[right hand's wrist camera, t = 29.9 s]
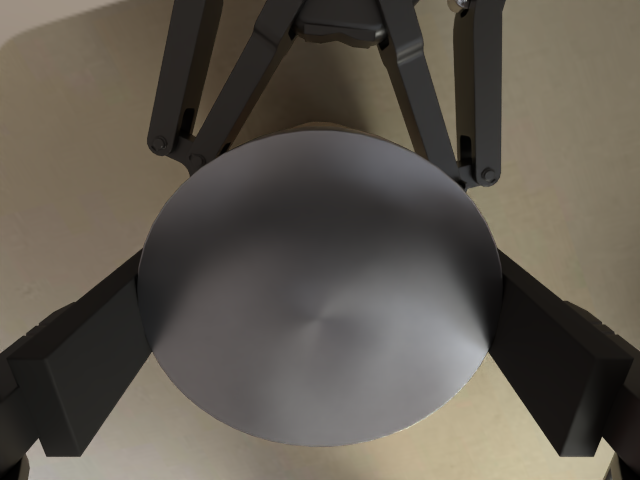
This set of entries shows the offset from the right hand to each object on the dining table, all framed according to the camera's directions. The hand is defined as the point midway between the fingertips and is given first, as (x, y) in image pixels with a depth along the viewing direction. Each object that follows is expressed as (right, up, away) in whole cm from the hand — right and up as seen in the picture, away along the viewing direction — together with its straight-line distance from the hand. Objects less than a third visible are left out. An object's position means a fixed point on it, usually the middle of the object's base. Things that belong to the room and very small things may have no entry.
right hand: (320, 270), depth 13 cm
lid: (0, -1, -3) cm, 3 cm away
